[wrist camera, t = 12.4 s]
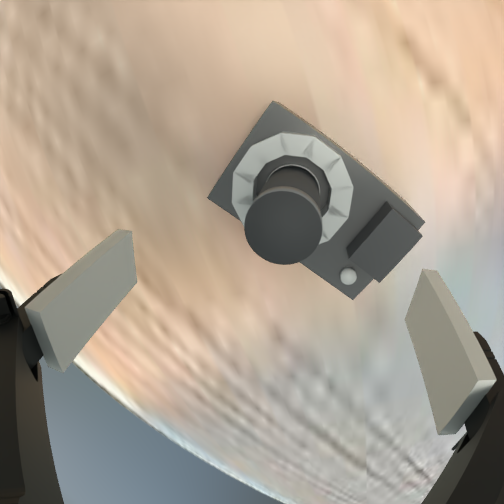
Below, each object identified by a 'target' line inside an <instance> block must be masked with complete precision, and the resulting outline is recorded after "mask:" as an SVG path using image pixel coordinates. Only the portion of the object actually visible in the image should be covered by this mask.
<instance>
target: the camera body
mask: <svg viewBox="0 0 504 504" xmlns="http://www.w3.org/2000/svg"><path fill="white" fill-rule="evenodd" d="M290 163H295V164H300V165H303V166H305V167H307V168H308V169H310V170H311V171H312V172H313V173H314V175H315V176H316V178H317V180H318V182H319V186H320V207H321V216H322V226H323V231H322V237H321V240H320V243H319V245H318V246H317V248H316V249H315V251H314V252H313V253H312V254H311V255H310V256H309V257H307V258H306V259H304V260H302V261H300V263H302V264H303V265H304V266H306V267H307V268H309V269H310V270H311V271H313V272H314V273H316V274H317V275H318V276H320V277H321V278H323V279H324V280H326V281H327V282H328V283H330V284H331V285H333V286H334V287H335V288H337V289H338V290H340V291H341V292H342V293H344V294H345V295H347V296H348V297H349V298H351V299H352V300H353V299H354V298H355V297H356V296H357V295H358V294H359V293H360V292H361V291H362V290H363V289H364V288H365V287H366V286H367V285H368V284H369V283H370V282H371V281H372V280H373V279H375V280H377V281H378V282H379V283H380V282H381V281H382V280H383V279H384V278H385V277H386V276H387V274H388V273H389V272H390V271H391V270H392V269H393V268H394V267H395V266H396V265H397V264H398V263H399V262H400V261H401V260H402V259H403V257H404V256H405V255H406V254H407V253H408V252H409V251H410V250H411V249H412V248H413V246H414V245H415V244H416V243H417V242H418V241H419V240H420V239H421V237H422V235H421V233H420V232H419V231H418V230H419V229H420V228H421V226H422V225H423V224H424V223H425V221H424V220H423V219H422V218H421V217H420V216H419V215H418V214H417V213H416V212H415V210H414V209H413V208H412V207H411V206H410V205H409V204H408V203H407V202H406V201H405V200H404V199H402V198H401V197H400V196H399V195H398V194H397V193H396V192H395V191H393V190H392V189H391V188H390V187H389V186H388V185H387V184H385V183H384V182H383V181H382V180H381V179H380V178H378V177H377V176H376V175H375V174H374V173H372V172H371V171H370V170H369V169H368V168H366V167H365V166H364V165H363V164H362V163H360V162H359V161H358V160H357V159H355V158H354V157H353V156H352V155H350V154H349V153H348V152H347V151H345V150H344V149H343V148H341V147H340V146H339V145H338V144H336V143H335V142H334V141H332V140H331V139H330V138H328V137H327V136H326V135H324V134H323V133H322V132H320V131H319V130H318V129H316V128H315V127H313V126H312V125H311V124H309V123H308V122H306V121H305V120H304V119H302V118H301V117H299V116H298V115H296V114H295V113H294V112H292V111H291V110H289V109H288V108H286V107H285V106H283V105H282V104H280V103H279V102H275V101H272V102H271V104H270V105H269V107H268V108H267V109H266V111H265V112H264V114H263V115H262V117H261V118H260V119H259V121H258V122H257V124H256V125H255V127H254V128H253V129H252V131H251V132H250V134H249V135H248V137H247V138H246V140H245V141H244V143H243V144H242V146H241V147H240V148H239V150H238V151H237V153H236V154H235V156H234V157H233V159H232V160H231V162H230V163H229V165H228V166H227V168H226V169H225V171H224V173H223V174H222V176H221V177H220V179H219V180H218V182H217V183H216V185H215V186H214V188H213V189H212V191H211V193H210V194H209V196H208V197H207V198H208V199H209V200H211V201H212V202H214V203H215V204H217V205H218V206H220V207H221V208H223V209H224V210H225V211H227V212H228V213H230V214H231V215H233V216H234V217H236V218H237V219H238V220H240V221H241V222H242V224H243V226H244V222H245V217H246V213H247V211H248V209H249V208H250V206H251V204H252V203H253V201H254V200H255V199H256V197H257V196H258V194H259V193H260V191H261V190H262V188H263V186H264V185H265V183H266V181H267V179H268V177H269V176H270V174H271V173H272V172H273V171H274V170H275V169H276V168H278V167H279V166H281V165H284V164H290Z"/></svg>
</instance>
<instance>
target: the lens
mask: <svg viewBox="0 0 504 504" xmlns="http://www.w3.org/2000/svg"><path fill="white" fill-rule="evenodd" d="M244 230H245V235H246V239H247V241H248V243H249V245H250V247H251V248H252V249H253V251H254V252H255V253H256V254H257V255H259V256H260V257H261V258H263V259H265V260H267V261H269V262H272V263H275V264H283V265H286V264H294V263H297V262H300V261H302V260H304V259H306V258H307V257H309V256H310V255H311V254H312V253H313V252H314V251H315V249H316V248H317V246H318V245H319V243H320V240H321V237H322V231H323V226H322V216H321V207H320V186H319V182H318V180H317V178H316V176H315V175H314V173H313V172H312V171H311V170H310V169H308V168H307V167H305V166H303V165H300V164H295V163H290V164H284V165H281V166H279V167H278V168H276V169H275V170H274V171H273V172H272V173H271V174H270V176H269V177H268V179H267V181H266V183H265V185H264V186H263V188H262V190H261V191H260V193H259V194H258V196H257V197H256V199H255V200H254V201H253V203H252V204H251V206H250V208H249V209H248V211H247V213H246V217H245V222H244Z"/></svg>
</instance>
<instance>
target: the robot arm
mask: <svg viewBox="0 0 504 504" xmlns="http://www.w3.org/2000/svg"><path fill="white" fill-rule="evenodd" d="M136 283H137V276H136V267H135V259H134V250H133V240H132V231H128V230H120V229H118V230H116V231H115V232H114V233H112V234H111V235H110V236H109V237H107V238H106V239H105V240H103V241H102V242H101V243H100V244H98V245H97V246H96V247H95V248H93V249H92V250H91V251H90V252H88V253H87V254H86V255H85V256H83V257H82V258H81V259H80V260H78V261H77V262H76V263H75V264H74V265H72V266H71V267H70V268H69V269H68V270H66V271H65V272H64V273H63V274H60V275H58V276H56V277H54V278H52V279H51V280H49V281H48V282H47V283H46V284H45V285H44V286H43V287H41V288H40V289H39V290H38V291H37V293H34V294H33V295H32V296H31V297H30V298H29V299H28V300H26V301H25V302H24V303H23V304H22V305H21V306H20V307H19V308H18V309H17V307H16V304H15V301H14V298H13V295H12V292H11V291H10V290H8V289H0V504H64V502H63V498H62V494H61V491H60V487H59V483H58V479H57V474H56V470H55V466H54V461H53V456H52V451H51V446H50V440H49V434H48V428H47V421H46V413H45V405H44V397H43V386H42V372H41V366H40V363H39V360H40V359H41V357H42V356H44V358H45V360H46V363H47V365H48V367H50V368H52V369H55V370H57V371H59V372H62V373H64V371H65V370H66V369H67V367H68V366H69V365H70V364H71V362H72V361H73V360H74V358H75V357H76V356H77V355H78V353H79V352H80V351H81V349H82V348H83V347H84V346H85V344H86V343H87V342H88V341H89V339H90V338H91V337H92V336H93V334H94V333H95V332H96V331H97V330H98V328H99V327H100V326H101V325H102V323H103V322H104V321H105V320H106V319H107V317H108V316H109V315H110V314H111V313H112V311H113V310H114V309H115V308H116V307H117V305H118V304H119V303H120V302H121V301H122V299H123V298H124V297H125V296H126V295H127V294H128V292H129V291H130V290H131V289H132V288H133V287H134V285H135V284H136ZM405 322H406V325H407V328H408V331H409V334H410V337H411V340H412V343H413V346H414V349H415V352H416V355H417V359H418V362H419V365H420V368H421V372H422V375H423V379H424V382H425V386H426V389H427V393H428V397H429V401H430V404H431V408H432V412H433V416H434V420H435V425H436V429H437V433H438V435H448V434H456V433H457V432H458V431H459V429H460V428H461V427H462V426H463V425H464V423H465V426H466V430H467V432H466V433H465V435H464V436H463V437H462V438H461V439H460V440H459V441H458V443H457V444H456V445H455V446H454V447H453V448H452V450H453V451H454V450H455V449H456V450H455V451H454V453H453V455H452V457H451V458H450V460H449V462H448V464H447V465H446V467H445V469H444V470H443V472H442V473H441V475H440V477H439V478H438V480H437V481H436V483H435V484H434V486H433V487H432V489H431V490H430V492H429V493H428V495H427V496H426V498H425V499H424V501H423V502H422V503H421V504H504V374H503V372H502V370H501V368H500V366H499V364H498V362H497V360H496V359H495V356H494V354H493V352H491V349H490V347H489V345H488V343H487V341H486V340H485V339H484V338H483V337H482V336H481V335H480V334H479V333H478V332H473V331H472V329H471V327H470V325H469V324H468V322H467V320H466V318H465V316H464V315H463V313H462V311H461V309H460V308H459V306H458V304H457V302H456V301H455V299H454V297H453V296H452V294H451V292H450V291H449V289H448V287H447V286H446V284H445V283H444V281H443V279H442V278H441V276H440V275H439V273H438V271H435V270H428V269H422V272H421V275H420V278H419V281H418V284H417V287H416V290H415V293H414V296H413V298H412V301H411V304H410V307H409V309H408V312H407V315H406V317H405Z"/></svg>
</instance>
